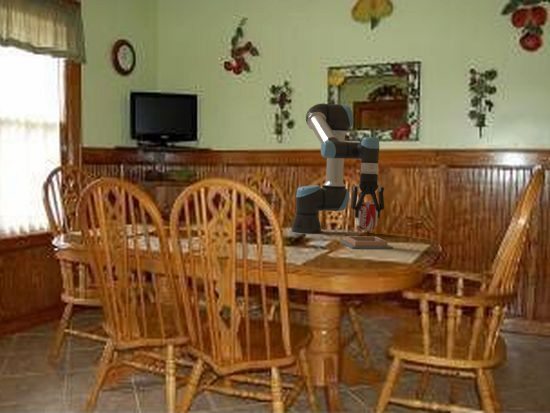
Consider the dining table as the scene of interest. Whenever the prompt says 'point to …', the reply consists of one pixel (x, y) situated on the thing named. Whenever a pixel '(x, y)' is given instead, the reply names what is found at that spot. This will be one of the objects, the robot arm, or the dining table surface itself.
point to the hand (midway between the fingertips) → (366, 225)
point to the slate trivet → (365, 242)
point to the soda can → (367, 216)
